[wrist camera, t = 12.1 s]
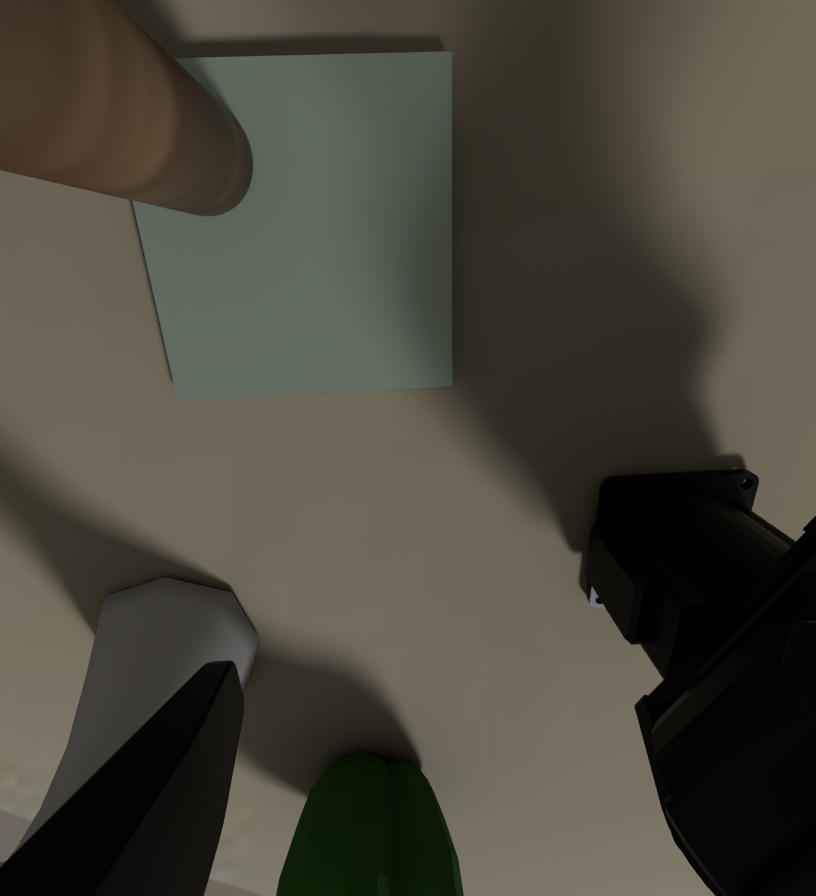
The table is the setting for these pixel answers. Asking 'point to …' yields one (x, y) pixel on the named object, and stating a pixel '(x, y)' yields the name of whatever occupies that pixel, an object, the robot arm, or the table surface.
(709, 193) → the table surface
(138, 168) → the walnut peg
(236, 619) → the flask
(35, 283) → the table surface
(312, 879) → the bell pepper
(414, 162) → the green pad
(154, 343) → the table surface
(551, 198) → the table surface
